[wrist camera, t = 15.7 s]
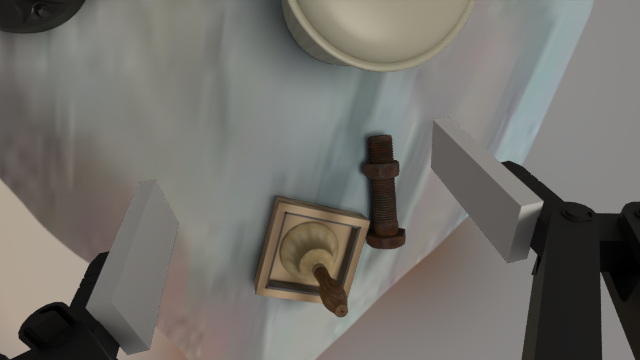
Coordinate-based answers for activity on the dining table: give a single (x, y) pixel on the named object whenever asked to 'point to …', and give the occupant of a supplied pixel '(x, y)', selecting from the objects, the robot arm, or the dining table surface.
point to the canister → (375, 30)
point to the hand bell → (315, 261)
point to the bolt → (383, 194)
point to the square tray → (291, 214)
